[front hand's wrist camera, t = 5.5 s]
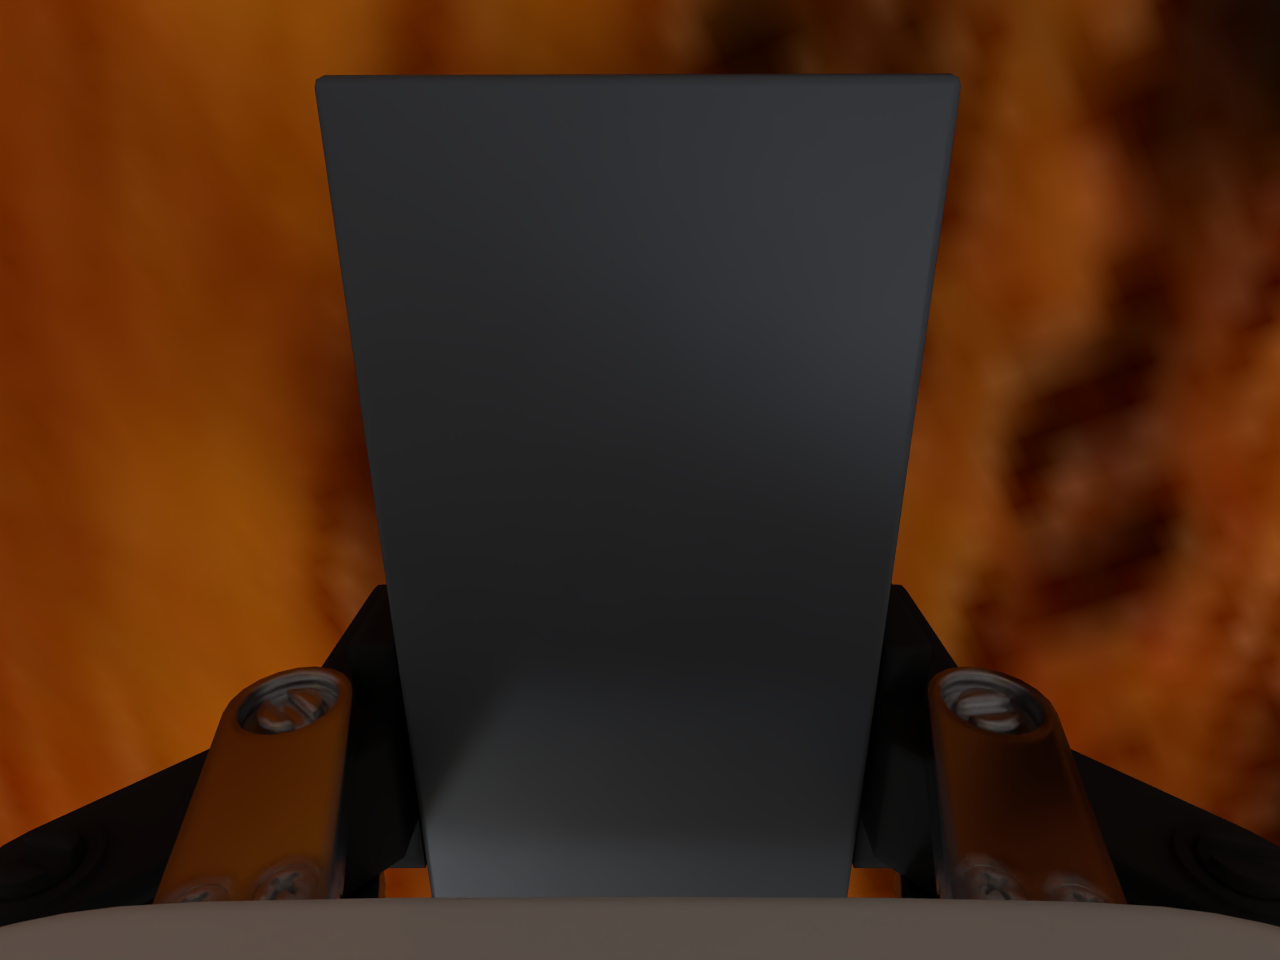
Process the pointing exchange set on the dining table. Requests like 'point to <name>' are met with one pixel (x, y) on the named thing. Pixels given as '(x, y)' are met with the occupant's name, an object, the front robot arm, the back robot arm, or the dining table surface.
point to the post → (638, 455)
